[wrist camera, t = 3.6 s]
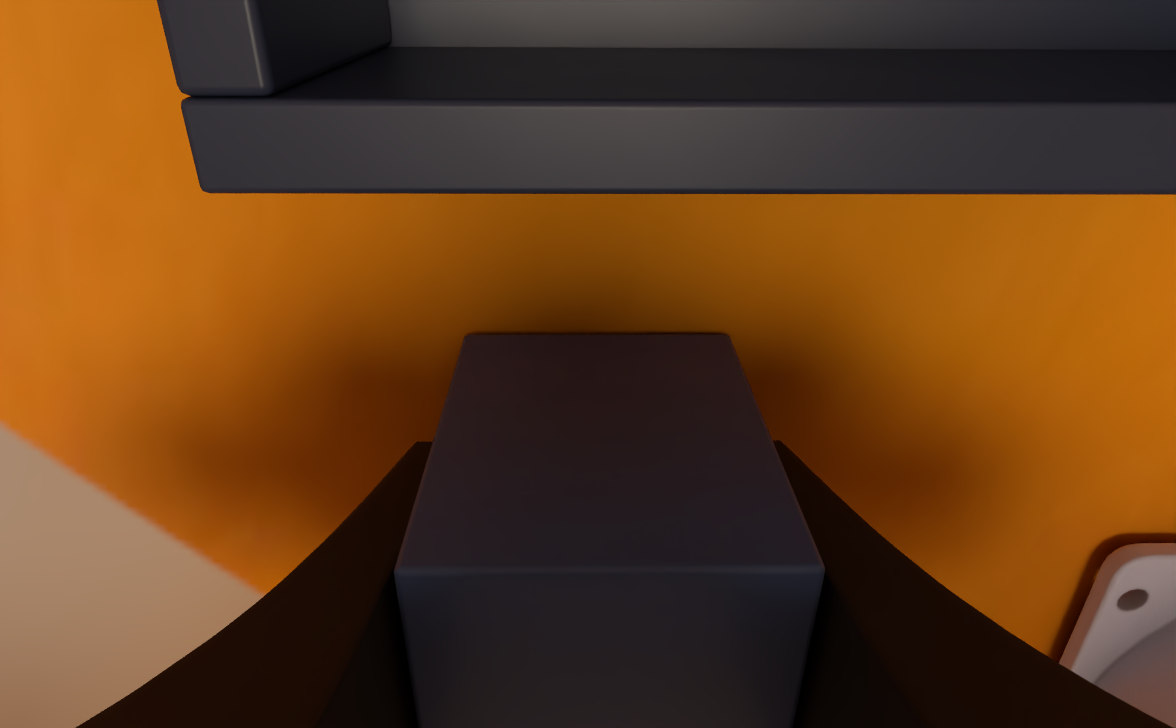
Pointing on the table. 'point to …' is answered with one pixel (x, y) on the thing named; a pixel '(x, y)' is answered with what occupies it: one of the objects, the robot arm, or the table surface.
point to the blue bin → (678, 96)
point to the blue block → (605, 542)
